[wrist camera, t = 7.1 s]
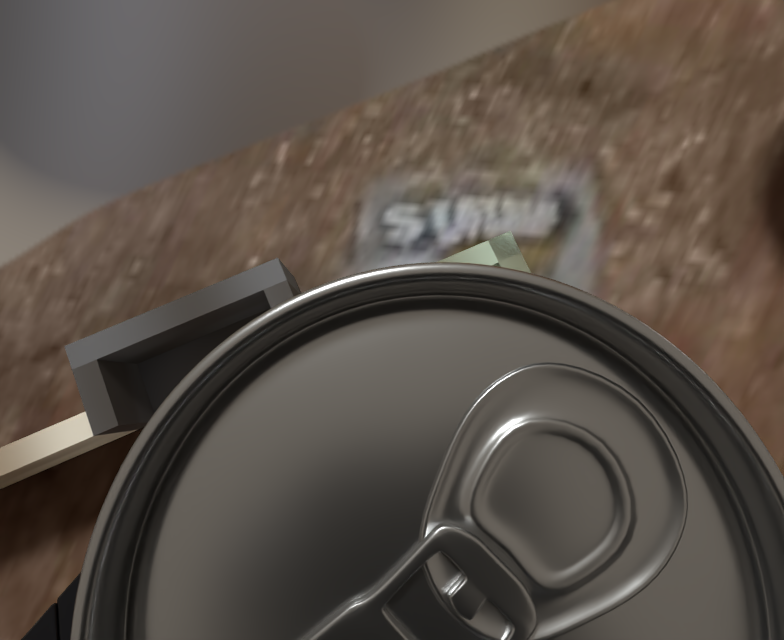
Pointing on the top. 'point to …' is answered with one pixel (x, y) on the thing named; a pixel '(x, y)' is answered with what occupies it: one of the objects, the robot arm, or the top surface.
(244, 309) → the channel
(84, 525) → the top surface
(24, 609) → the top surface
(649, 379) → the can
